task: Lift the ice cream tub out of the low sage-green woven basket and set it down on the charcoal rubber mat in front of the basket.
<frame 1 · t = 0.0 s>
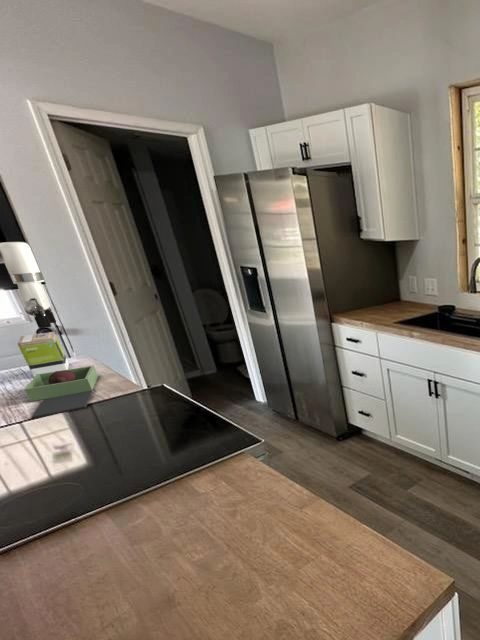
hand: (48, 325, 153), 22 cm above the worktop, tool pointing down, fingers open, 9 cm apart
tea box: (52, 371, 171), on the worktop
basket: (66, 387, 152), on the worktop
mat: (64, 404, 138), on the worktop
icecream: (66, 388, 152), resting in basket
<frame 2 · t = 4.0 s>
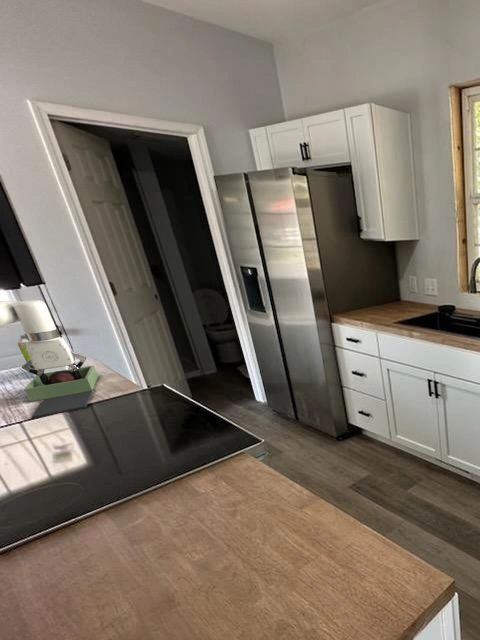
hand: (63, 382, 151), 2 cm above the worktop, tool pointing down, fingers closed on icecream, 7 cm apart
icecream: (66, 388, 152), resting in basket, touching gripper
everything else where it was.
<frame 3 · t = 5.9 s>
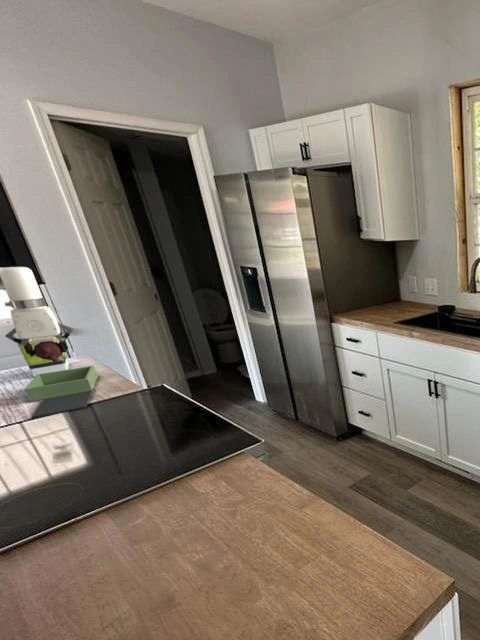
hand: (49, 353, 147), 14 cm above the worktop, tool pointing down, fingers closed on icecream, 7 cm apart
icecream: (52, 359, 148), point 11 cm above the worktop, touching gripper
everything else where it was.
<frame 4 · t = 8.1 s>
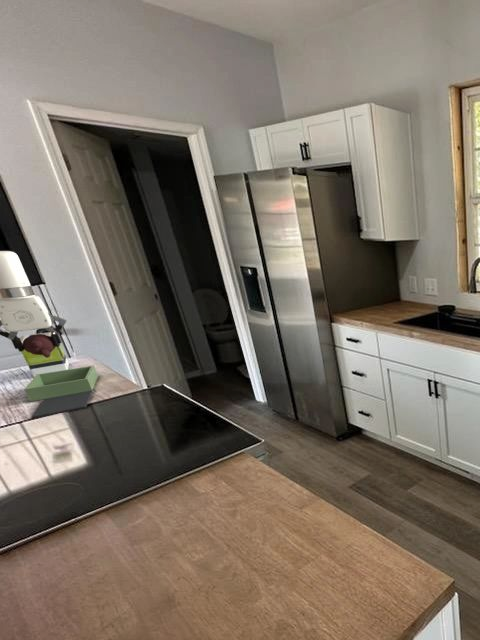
hand: (40, 347, 133), 19 cm above the worktop, tool pointing down, fingers closed on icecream, 7 cm apart
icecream: (44, 355, 134), point 17 cm above the worktop, touching gripper
everything else where it was.
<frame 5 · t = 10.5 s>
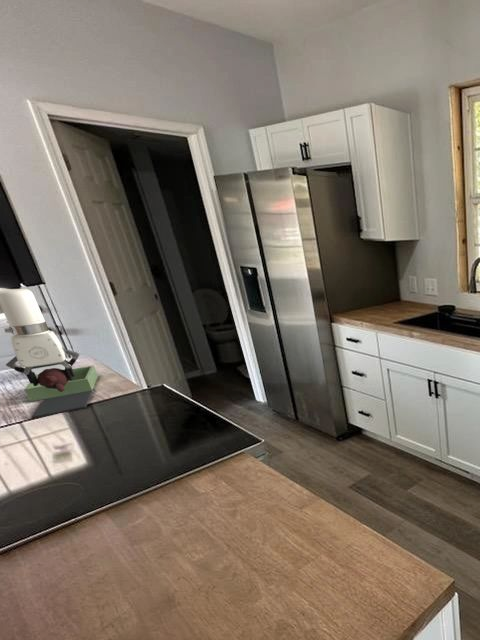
hand: (54, 381, 135), 8 cm above the worktop, tool pointing down, fingers closed on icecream, 7 cm apart
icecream: (57, 388, 136), point 6 cm above the worktop, touching gripper
everything else where it was.
when the fingers open (3 cm above the worktop, at t = 12.4 s): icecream stays where it is, resting on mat.
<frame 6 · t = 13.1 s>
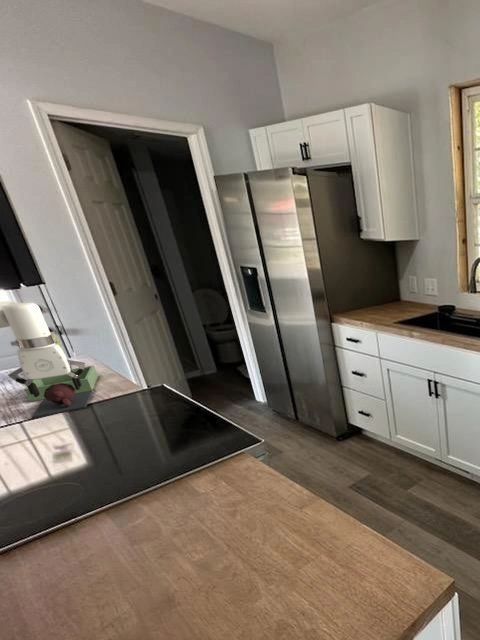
hand: (58, 392, 137), 4 cm above the worktop, tool pointing down, fingers open, 9 cm apart
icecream: (64, 403, 138), resting on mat
everything else where it was.
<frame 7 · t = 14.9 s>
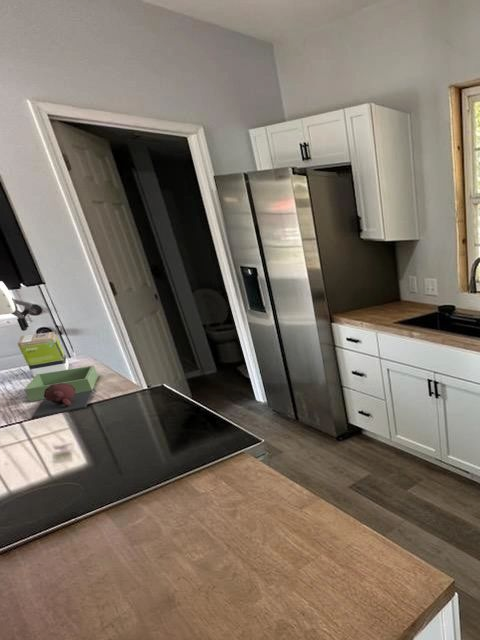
hand: (2, 332, 133), 24 cm above the worktop, tool pointing down, fingers open, 9 cm apart
nothing on the worktop moved.
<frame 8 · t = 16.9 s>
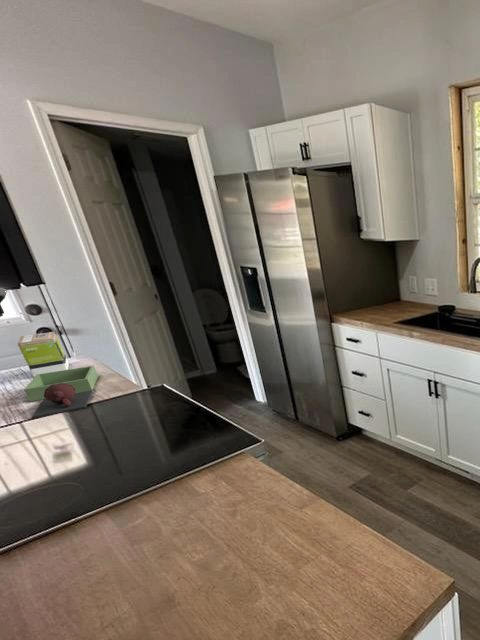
nothing on the worktop moved.
at the end: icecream inside the target area on the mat (0.1 cm from its centre), point 0.4 cm above the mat's base; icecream touching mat; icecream tilted 0° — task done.
